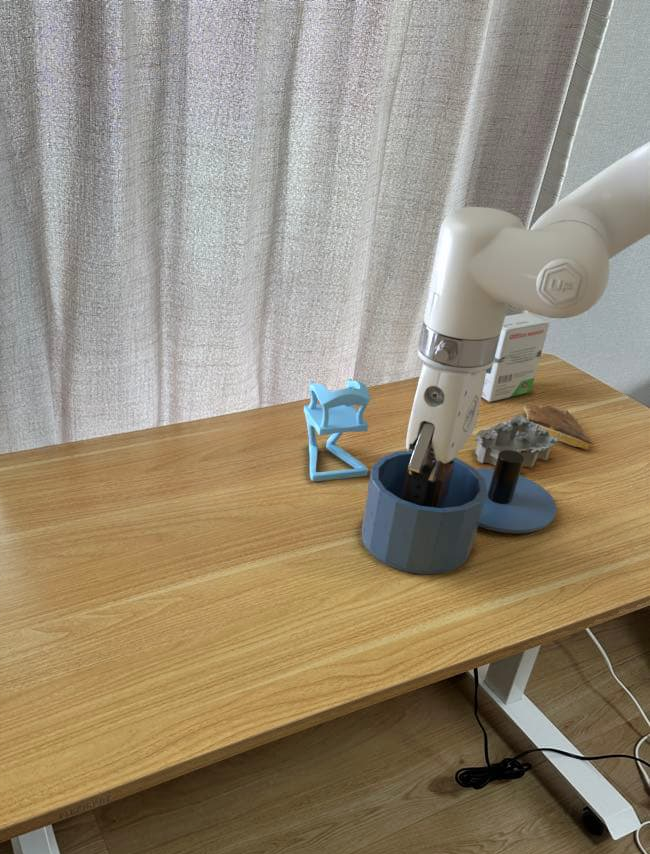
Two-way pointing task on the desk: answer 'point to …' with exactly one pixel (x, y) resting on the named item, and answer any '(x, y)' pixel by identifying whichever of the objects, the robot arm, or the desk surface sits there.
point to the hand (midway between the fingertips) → (425, 495)
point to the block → (443, 483)
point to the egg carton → (514, 441)
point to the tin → (421, 518)
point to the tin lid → (514, 498)
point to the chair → (336, 424)
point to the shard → (558, 424)
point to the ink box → (515, 357)
